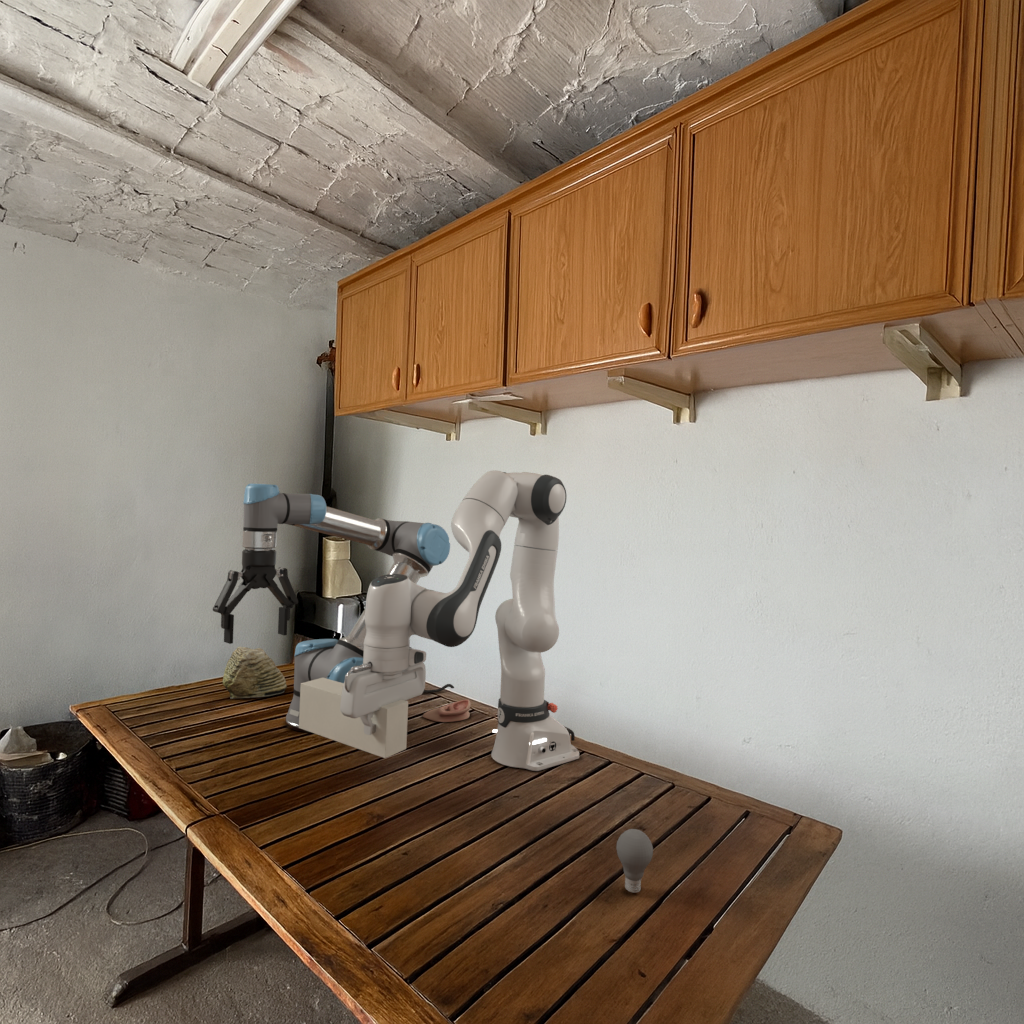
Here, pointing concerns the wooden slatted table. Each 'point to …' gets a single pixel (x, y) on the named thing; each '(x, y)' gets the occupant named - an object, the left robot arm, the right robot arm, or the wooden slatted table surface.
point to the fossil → (252, 674)
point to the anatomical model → (450, 712)
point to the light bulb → (634, 857)
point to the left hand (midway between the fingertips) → (256, 638)
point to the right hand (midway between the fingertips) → (383, 728)
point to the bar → (351, 719)
